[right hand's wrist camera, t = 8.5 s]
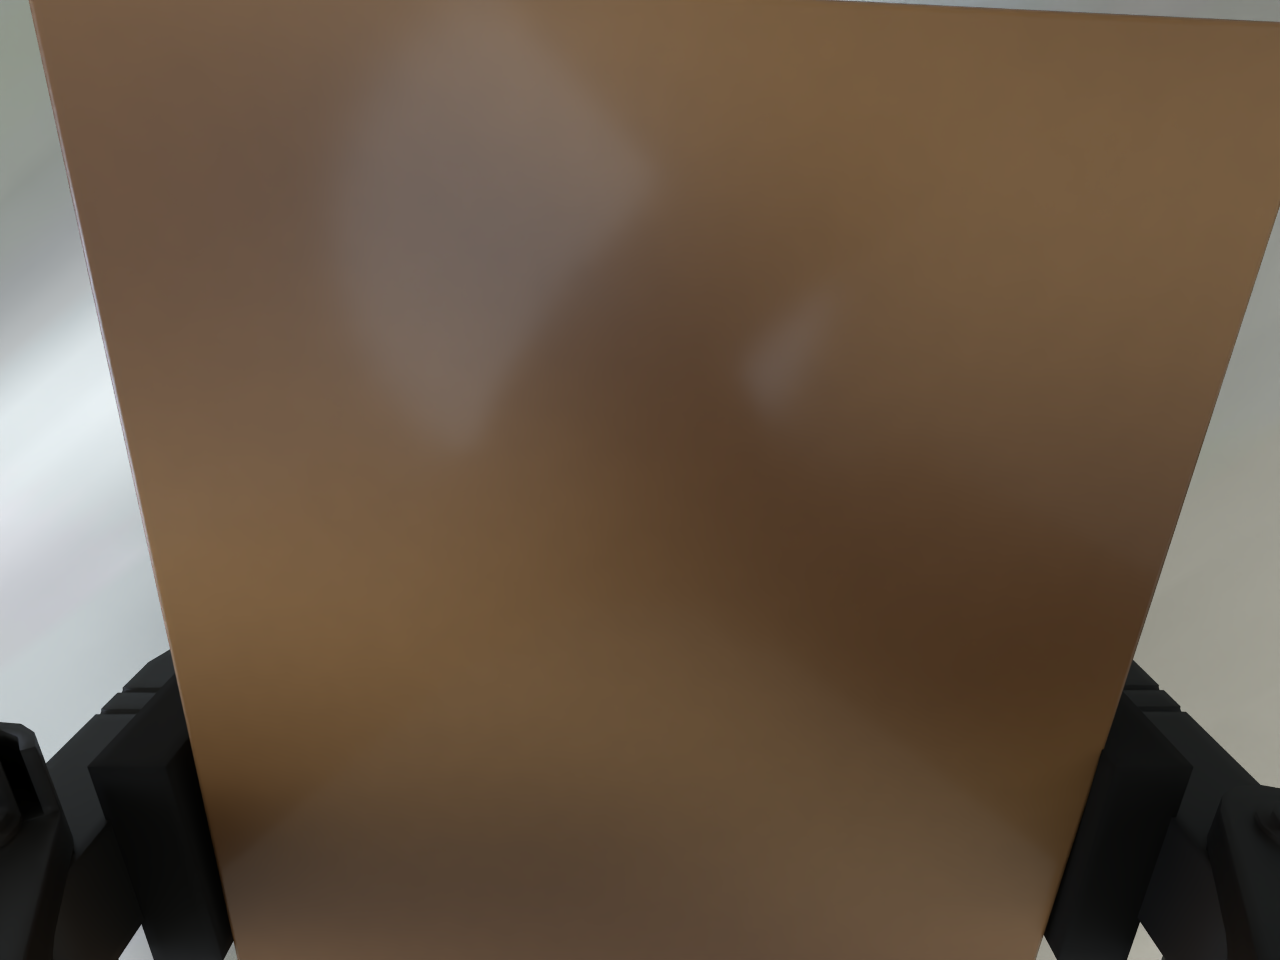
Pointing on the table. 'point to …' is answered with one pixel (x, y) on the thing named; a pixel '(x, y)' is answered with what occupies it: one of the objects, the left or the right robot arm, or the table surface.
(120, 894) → the right robot arm
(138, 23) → the slab
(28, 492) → the table surface
